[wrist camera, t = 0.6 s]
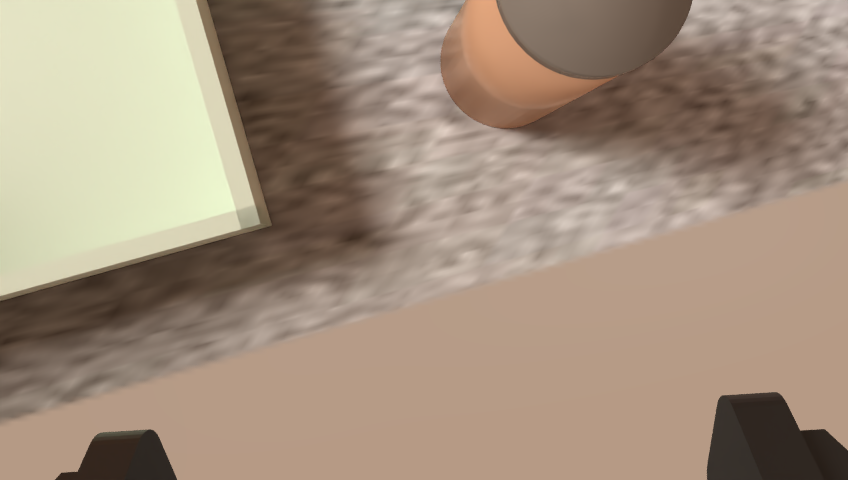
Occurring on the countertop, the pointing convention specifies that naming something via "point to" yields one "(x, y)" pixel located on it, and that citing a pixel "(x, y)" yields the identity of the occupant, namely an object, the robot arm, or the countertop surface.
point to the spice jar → (548, 52)
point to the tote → (115, 139)
